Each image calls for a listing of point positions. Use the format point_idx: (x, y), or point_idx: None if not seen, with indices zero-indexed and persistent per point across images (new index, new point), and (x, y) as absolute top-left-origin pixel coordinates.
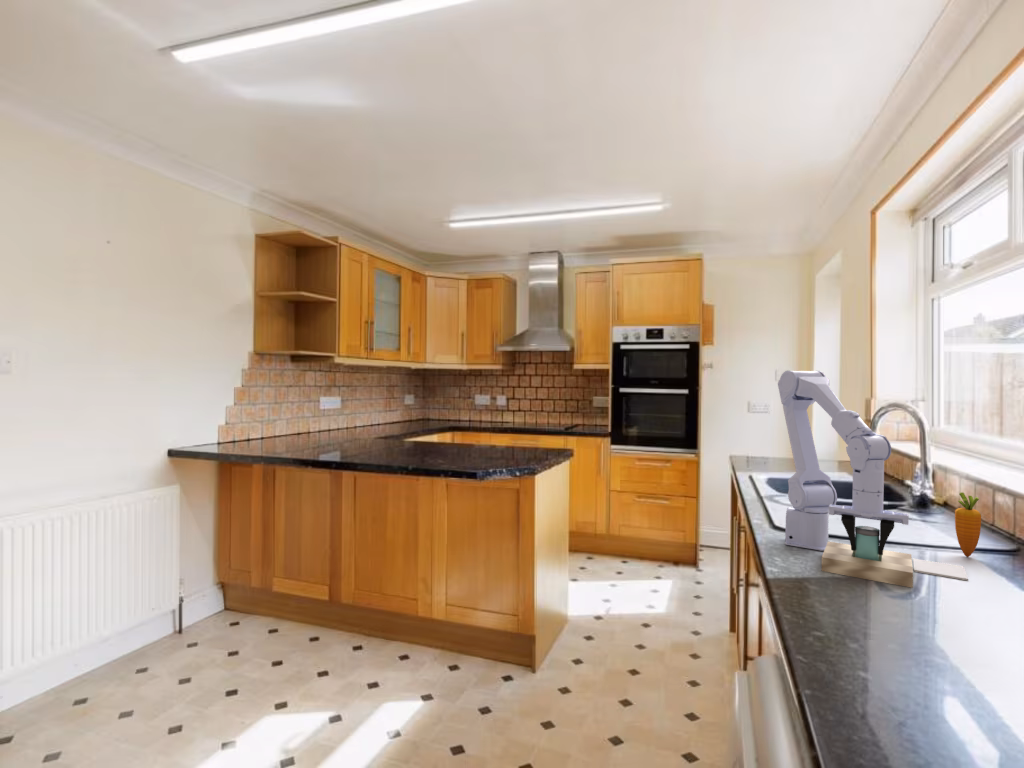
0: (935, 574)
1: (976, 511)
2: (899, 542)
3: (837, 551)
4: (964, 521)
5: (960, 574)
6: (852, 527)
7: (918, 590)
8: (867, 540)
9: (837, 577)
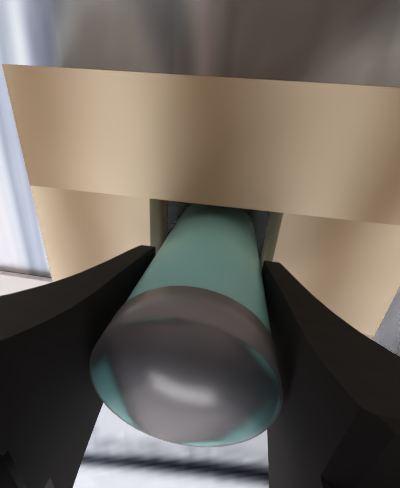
0: (30, 276)
1: None
2: (134, 466)
3: (341, 269)
4: None
5: None
6: (334, 356)
7: (35, 53)
8: (195, 264)
9: (366, 25)
